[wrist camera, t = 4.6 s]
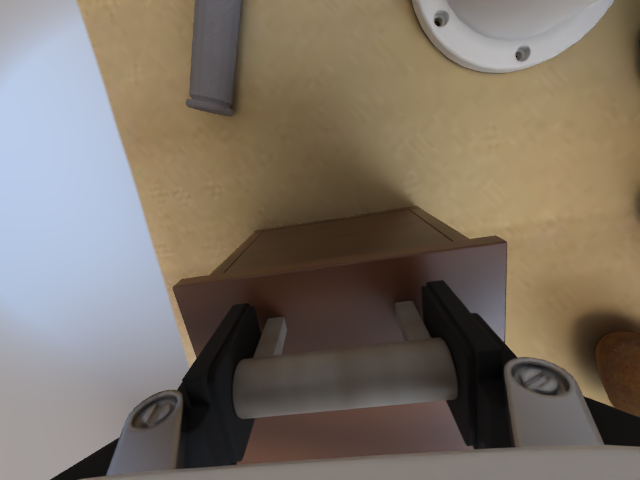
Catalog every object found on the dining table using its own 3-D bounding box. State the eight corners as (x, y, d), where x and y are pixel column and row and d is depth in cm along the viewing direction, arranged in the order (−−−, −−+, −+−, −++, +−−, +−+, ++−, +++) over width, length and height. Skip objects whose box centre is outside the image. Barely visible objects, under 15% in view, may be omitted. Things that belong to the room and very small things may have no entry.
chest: (255, 230, 23) (192, 290, 13) (417, 205, 22) (489, 250, 12) (292, 391, 27) (266, 533, 17) (430, 377, 26) (492, 521, 16)
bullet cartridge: (201, 111, 21) (240, 118, 21) (175, 102, 18) (220, 110, 18) (215, -81, 18) (261, -77, 18) (186, -128, 15) (240, -123, 15)
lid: (181, 278, 12) (90, 357, 8) (496, 234, 11) (609, 296, 7) (266, 535, 17) (242, 677, 12) (493, 522, 16) (556, 673, 11)
